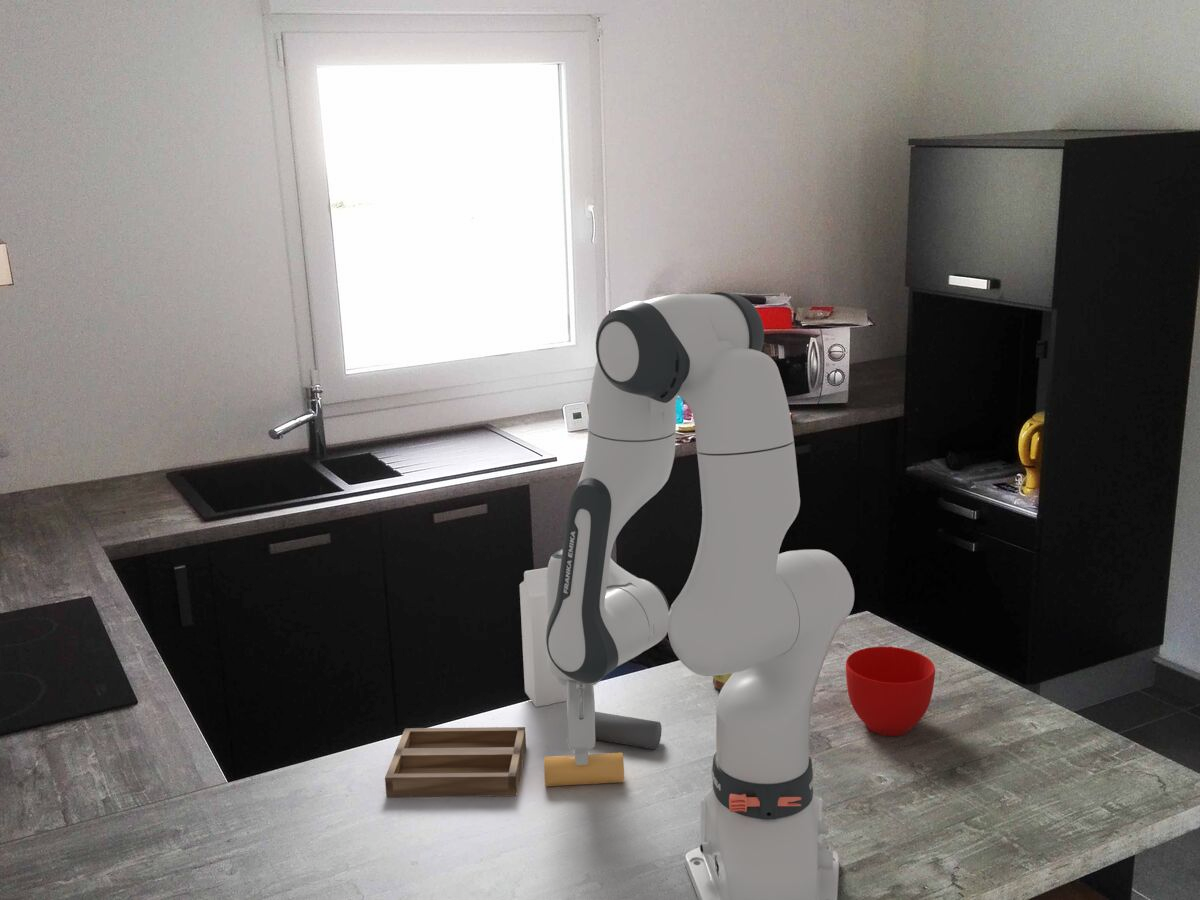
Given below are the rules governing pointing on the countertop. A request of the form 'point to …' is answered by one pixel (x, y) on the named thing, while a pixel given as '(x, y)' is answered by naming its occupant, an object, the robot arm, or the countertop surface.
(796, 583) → the robot arm
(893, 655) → the ceramic cup
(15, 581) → the countertop surface
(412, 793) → the slot rack
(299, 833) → the countertop surface
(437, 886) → the countertop surface
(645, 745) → the charcoal rod
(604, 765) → the orange rod
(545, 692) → the milk
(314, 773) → the countertop surface
